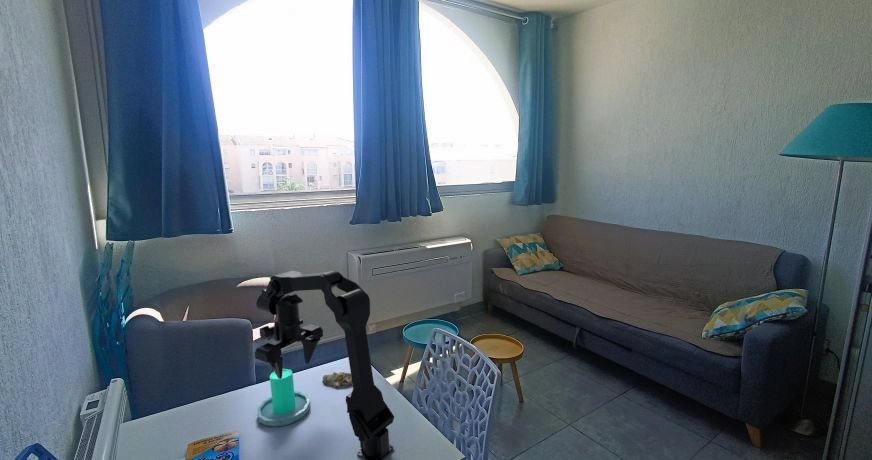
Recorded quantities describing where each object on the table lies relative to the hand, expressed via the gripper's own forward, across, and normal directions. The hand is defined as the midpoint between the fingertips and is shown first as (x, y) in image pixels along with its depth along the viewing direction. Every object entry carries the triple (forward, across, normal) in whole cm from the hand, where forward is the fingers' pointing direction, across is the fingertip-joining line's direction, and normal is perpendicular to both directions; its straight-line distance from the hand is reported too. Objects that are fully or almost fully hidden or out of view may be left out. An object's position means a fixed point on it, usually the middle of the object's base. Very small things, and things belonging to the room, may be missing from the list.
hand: (293, 370), depth 111 cm
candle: (+11, +2, -3) cm, 12 cm away
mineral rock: (+13, -17, -1) cm, 22 cm away
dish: (+12, +2, -3) cm, 13 cm away
